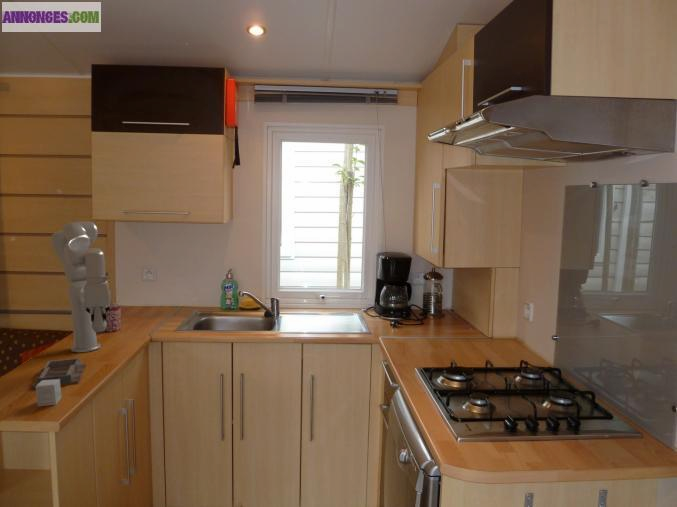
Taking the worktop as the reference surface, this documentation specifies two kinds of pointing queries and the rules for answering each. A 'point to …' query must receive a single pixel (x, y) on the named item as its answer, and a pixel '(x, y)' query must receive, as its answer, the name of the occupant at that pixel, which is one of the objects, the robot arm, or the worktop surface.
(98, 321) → the salt shaker
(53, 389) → the product box
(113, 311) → the mug
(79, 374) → the keyhole board
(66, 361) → the keyhole rails
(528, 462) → the worktop surface
